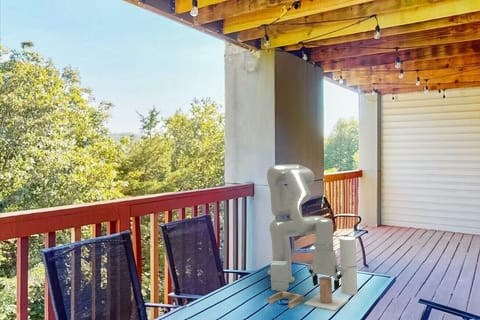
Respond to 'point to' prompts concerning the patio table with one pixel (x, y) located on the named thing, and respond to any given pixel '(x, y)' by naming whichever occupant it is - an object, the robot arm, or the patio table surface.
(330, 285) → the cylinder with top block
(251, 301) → the patio table surface
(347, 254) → the cylindrical container
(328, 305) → the mat
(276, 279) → the supplement box
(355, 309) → the patio table surface
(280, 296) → the cradle
